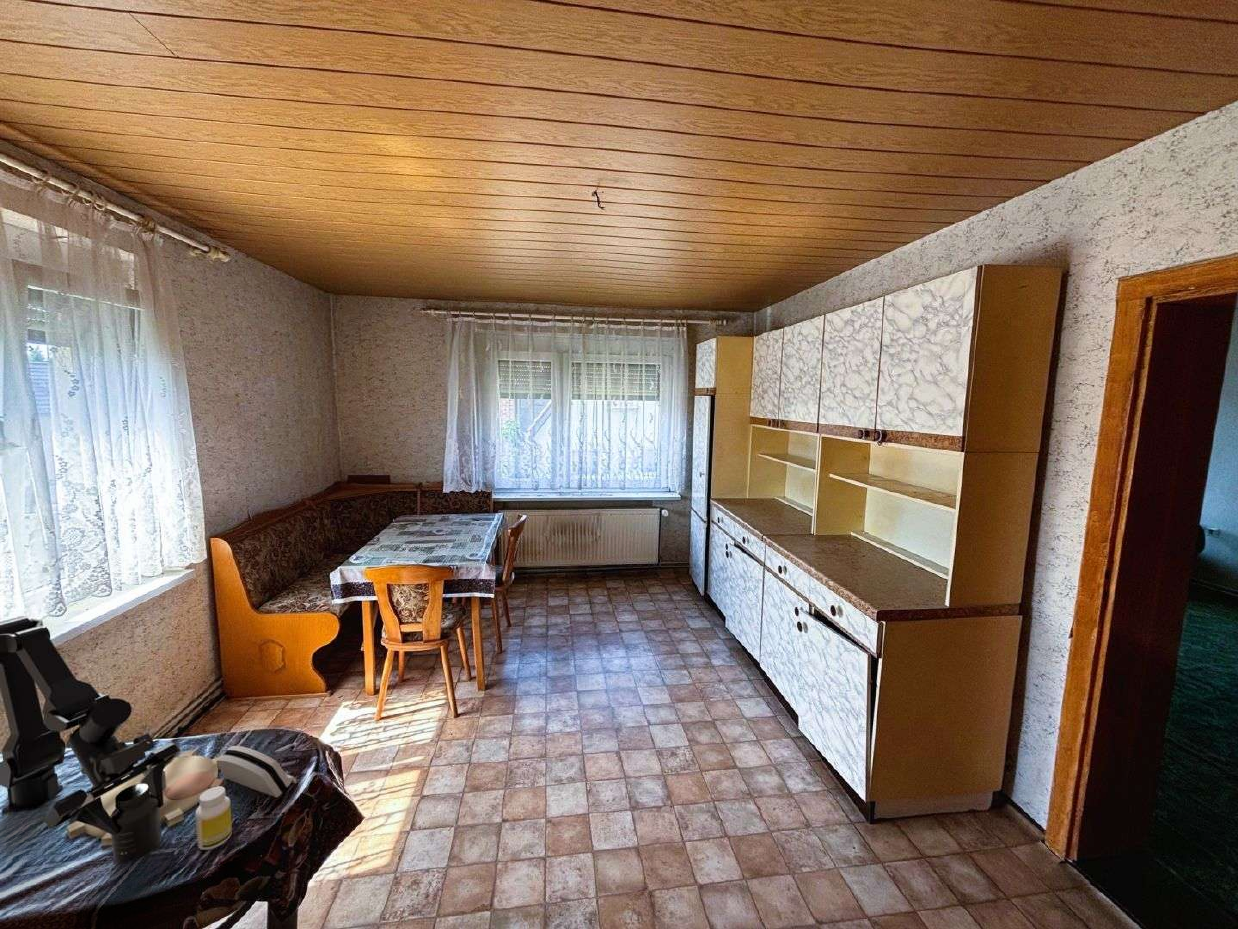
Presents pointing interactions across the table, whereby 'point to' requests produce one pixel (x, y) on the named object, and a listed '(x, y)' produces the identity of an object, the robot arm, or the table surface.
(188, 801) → the sprocket wheel
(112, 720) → the robot arm
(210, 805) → the supplement bottle
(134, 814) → the supplement bottle
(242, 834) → the table surface
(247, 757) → the white arched block
